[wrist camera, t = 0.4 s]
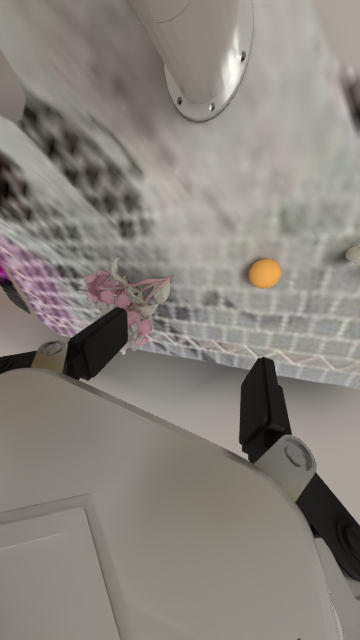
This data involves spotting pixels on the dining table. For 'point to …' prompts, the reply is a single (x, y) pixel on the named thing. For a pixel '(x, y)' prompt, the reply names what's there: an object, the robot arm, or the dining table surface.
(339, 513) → the robot arm
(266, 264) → the ball
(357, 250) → the pin
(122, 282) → the flower
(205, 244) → the dining table surface
